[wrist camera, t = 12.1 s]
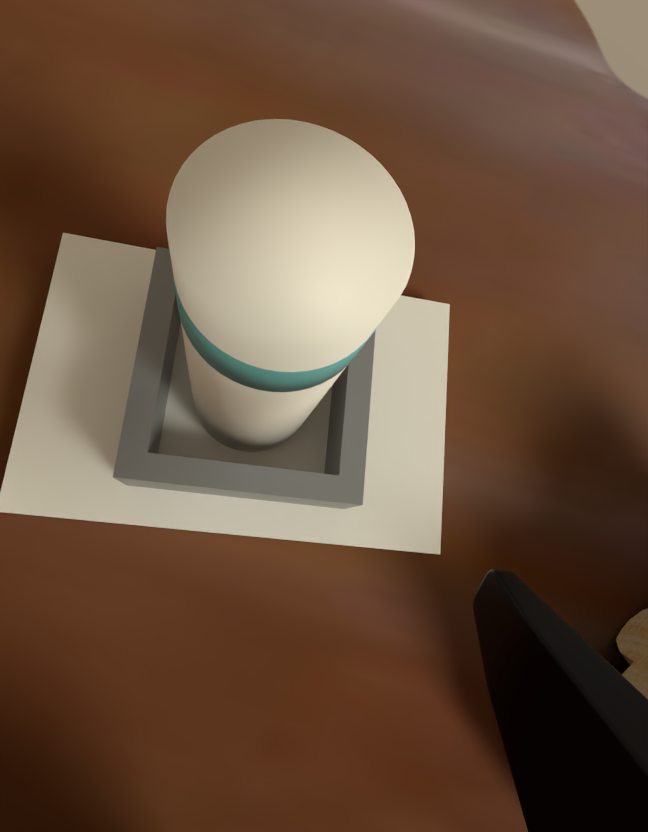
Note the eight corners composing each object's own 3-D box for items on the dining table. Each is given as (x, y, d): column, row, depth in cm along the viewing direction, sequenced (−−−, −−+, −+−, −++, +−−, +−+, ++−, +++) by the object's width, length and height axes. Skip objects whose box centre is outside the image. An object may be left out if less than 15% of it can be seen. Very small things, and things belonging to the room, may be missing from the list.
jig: (429, 553, 24) (472, 556, 20) (7, 512, 21) (-42, 507, 17) (439, 314, 27) (478, 275, 23) (70, 247, 24) (41, 188, 20)
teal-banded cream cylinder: (223, 472, 22) (235, 387, 9) (173, 367, 22) (121, 156, 10) (328, 422, 23) (457, 291, 11) (278, 324, 24) (346, 93, 11)
